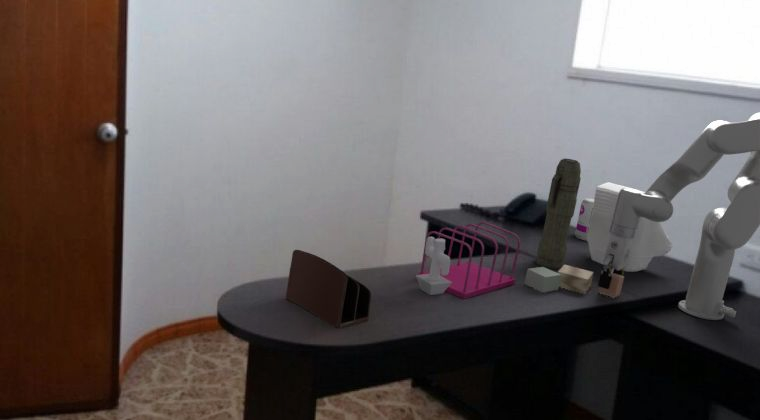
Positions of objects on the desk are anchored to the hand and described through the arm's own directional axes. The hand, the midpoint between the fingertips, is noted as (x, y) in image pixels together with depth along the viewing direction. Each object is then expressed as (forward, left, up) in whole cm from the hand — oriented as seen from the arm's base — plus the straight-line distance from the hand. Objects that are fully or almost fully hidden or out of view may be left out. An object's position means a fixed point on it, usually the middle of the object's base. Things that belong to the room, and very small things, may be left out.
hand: (608, 284), depth 225 cm
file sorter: (+32, +30, -3) cm, 44 cm away
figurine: (+33, +47, -3) cm, 58 cm away
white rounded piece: (+8, -33, -3) cm, 34 cm away
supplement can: (+28, -56, -3) cm, 63 cm away
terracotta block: (-1, 0, -3) cm, 3 cm away
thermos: (+23, -10, -3) cm, 26 cm away
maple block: (+9, +4, -3) cm, 11 cm away
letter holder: (+42, +81, -3) cm, 92 cm away
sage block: (+15, +14, -3) cm, 21 cm away
